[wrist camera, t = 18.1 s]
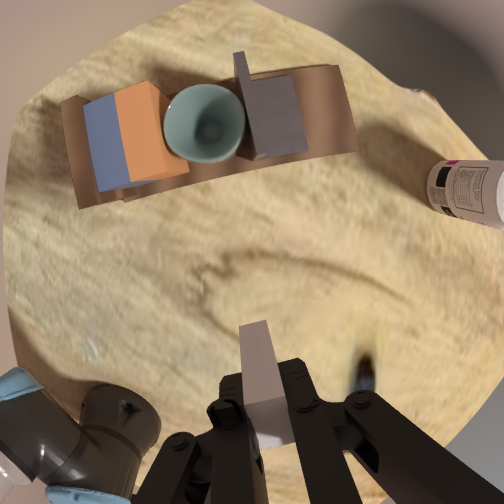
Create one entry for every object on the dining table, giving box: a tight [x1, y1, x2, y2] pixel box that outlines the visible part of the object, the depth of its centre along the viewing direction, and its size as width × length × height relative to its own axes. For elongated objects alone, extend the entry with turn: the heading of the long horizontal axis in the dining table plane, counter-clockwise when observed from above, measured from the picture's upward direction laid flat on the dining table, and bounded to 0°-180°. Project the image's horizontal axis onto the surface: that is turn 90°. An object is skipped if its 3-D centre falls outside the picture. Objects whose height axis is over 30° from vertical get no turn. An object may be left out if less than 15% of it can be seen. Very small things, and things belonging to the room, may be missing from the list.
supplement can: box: [427, 160, 504, 231], centre depth 32 cm, size 8×8×15 cm
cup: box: [163, 84, 246, 165], centre depth 31 cm, size 8×8×10 cm
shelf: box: [60, 65, 360, 210], centre depth 31 cm, size 31×12×13 cm, turn 102°
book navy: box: [83, 93, 162, 192], centre depth 31 cm, size 4×9×11 cm, turn 12°
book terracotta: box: [114, 81, 190, 182], centre depth 31 cm, size 4×9×11 cm, turn 12°
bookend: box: [233, 51, 309, 161], centre depth 30 cm, size 7×10×11 cm
